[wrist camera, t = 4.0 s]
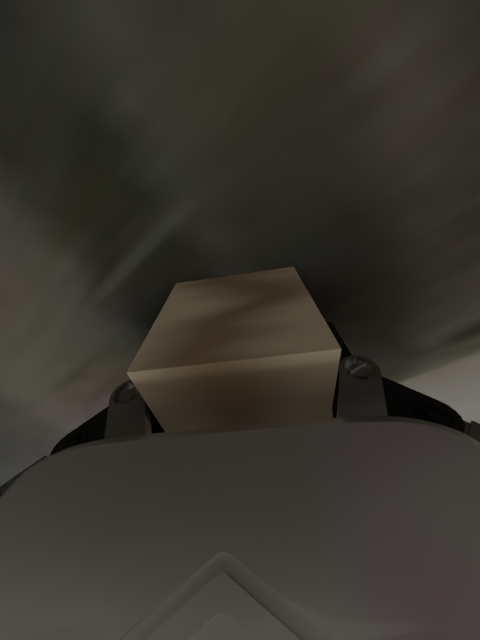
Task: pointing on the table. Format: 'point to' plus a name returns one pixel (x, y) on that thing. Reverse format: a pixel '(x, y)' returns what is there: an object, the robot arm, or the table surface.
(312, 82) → the table surface
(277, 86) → the table surface
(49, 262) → the table surface
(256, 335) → the base block
